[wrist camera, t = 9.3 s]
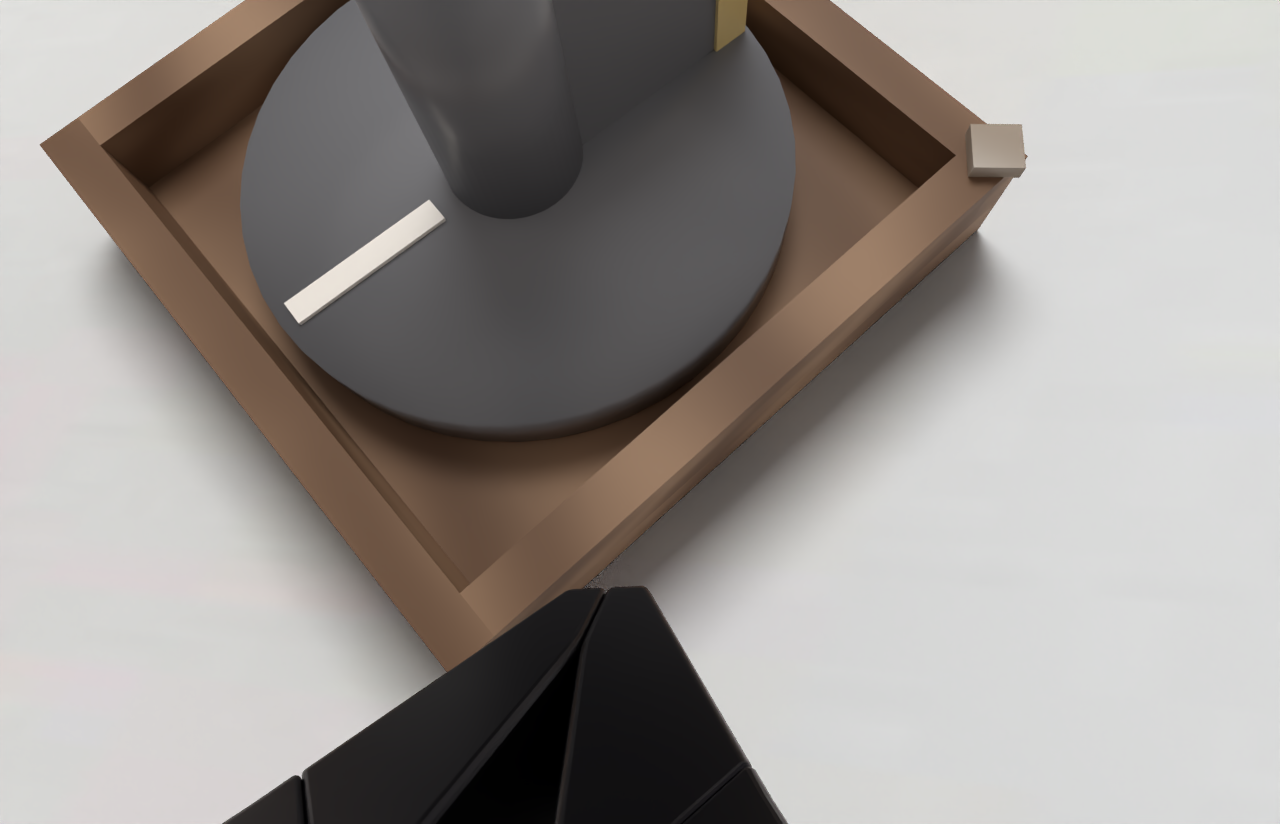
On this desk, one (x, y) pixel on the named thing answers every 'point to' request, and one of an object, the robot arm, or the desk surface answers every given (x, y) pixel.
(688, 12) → the knob
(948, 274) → the desk surface
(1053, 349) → the desk surface
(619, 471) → the dial base
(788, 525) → the desk surface
